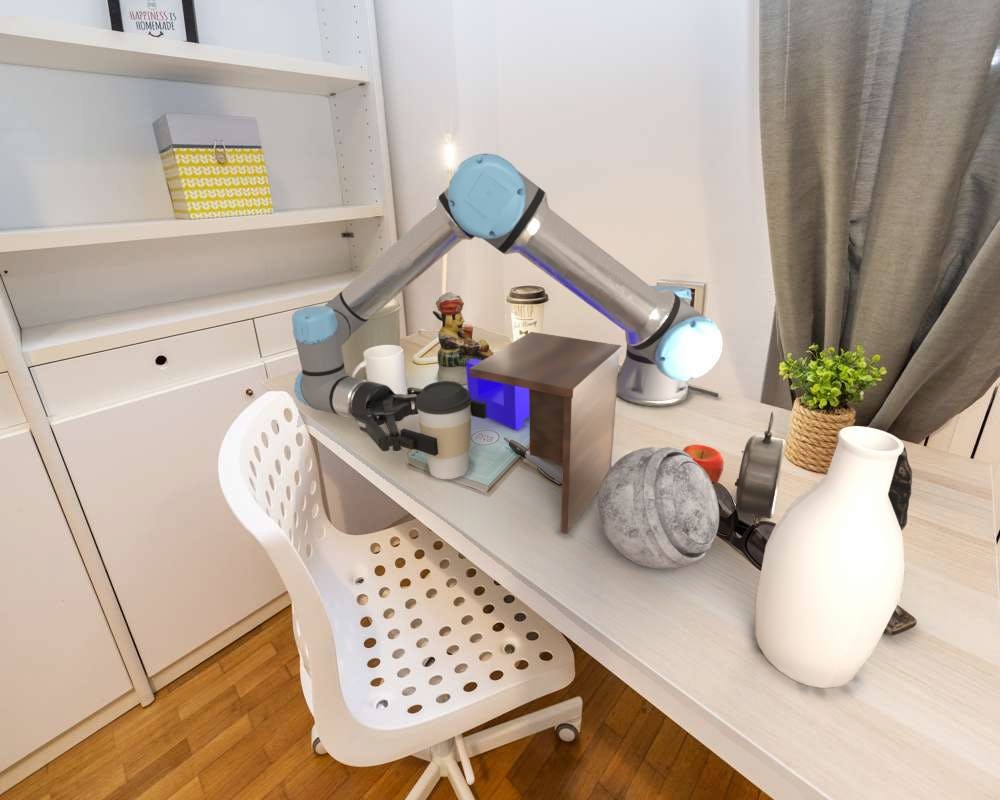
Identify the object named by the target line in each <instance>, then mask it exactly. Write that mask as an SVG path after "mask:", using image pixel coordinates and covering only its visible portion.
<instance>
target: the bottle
mask: <svg viewBox="0 0 1000 800" xmlns="http://www.w3.org/2000/svg"><path fill="white" fill-rule="evenodd" d="M837 439H838V442H837V444H836V448H835V450H834V453H833V455H832V458H831V461H830V464H829V465H828V466H829V467H828V470H827V472H826V475H825V476H824V477H823V478H822V479H820V480H819V481H818V482H816V483H814V485H812V486H811V487H809V488H808V489H806V490H805V491H804V492H803V493H801V494H800V495H799V496H798V497H796V498H795V500H794V501H793V502H791V504H790V505H789V506H788V508H787V509H786V510H785V512H784V513H783V514H782V516H781V517H780V518H779V519H778V520H777V522H776V523H775V525H774V527H773V529H772V532H771V533H770V535H769V538H768V540H767V542H766V543H765V548H764V553H763V558H762V563H761V568H760V569H761V571H760V575H759V582H758V587H757V593H756V598H755V599H756V600H755V601H756V602H755V603H756V604H755V631H754V632H755V633H754V634H755V637H756V638H755V639H756V641H757V645H758V647H759V648H760V650H761V651H762V653H763V655H764V657H765V658H766V659H767V661H768V662H769V663H771V664H772V666H773V667H774V668H775V669H777V670H778V671H779V672H780V673H781V674H783V675H785V676H786V677H788V678H789V679H791V680H792V681H796V682H797V683H800V684H802V685H805V686H808V687H813V688H820V689H830V688H839V687H842V686H845V685H846V684H848V683H850V682H851V681H852V680H853V679H854V677H856V675H857V674H858V673H859V671H860V669H862V667H863V665H864V664H865V663H866V661H867V660H868V659H869V658H870V656H871V655H872V654H873V652H874V651H875V649H876V647H877V645H878V644H879V642H880V640H881V638H882V636H883V634H884V632H885V631H884V630H885V628H886V626H887V624H888V622H889V620H890V618H891V616H892V614H893V612H894V610H895V608H896V606H897V605H899V602H900V600H901V598H902V592H903V587H904V580H905V572H906V566H905V565H906V564H905V551H904V538H903V530H902V531H901V528H900V525H899V523H898V520H897V518H896V515H895V512H894V510H893V507H892V504H891V502H890V499H889V497H888V492H889V489H890V485H891V481H892V478H893V474H894V470H895V467H896V463H897V459H898V456H899V455H900V454H901V453H902V452H903V449H904V447H905V445H904V443H903V441H902V440H901V439H899V438H898V437H897V436H895V435H893V434H892V433H889V432H887V431H884V430H881V429H877V428H874V427H868V426H860V425H852V426H846V427H842V428H840V430H839V432H838V434H837Z"/></svg>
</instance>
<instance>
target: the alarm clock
mask: <svg viewBox="0 0 1000 800" xmlns="http://www.w3.org/2000/svg"><path fill="white" fill-rule="evenodd" d="M774 419H775V411H771V413H770V417H769V422H768V428H767V430H765V431H764V435H760V434H759V435H758V434H756V435H752V436H751V437H750V438H748V439H747V442H746V443H745V447H744V450H741V453H742V457H741V462H740V467H739V473H738V477H737V478H736V481H735V482H734V486H735V487H736V497H735V500H736V501H735V502H736V504H735V505H734V508H735V509H736V508H738V509H739V510H740V511H741V512H742V513H744V514H745V513H746V514H749V515H753V516H754V517H753V518H754V519H753V525H754V524H755V523H757V522H759V523H760V522H761V518H766V519H772V517H773V515H774V511H775V506H776V505H775V504H776V501H777V496H778V491H779V484H780V479H781V474H782V467H783V460H784V454H785V449H786V440H785V439H784V438H775V437H773V432H772V431H771V430H772V427H773V424H774V423H773V422H774Z"/></svg>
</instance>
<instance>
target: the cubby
mask: <svg viewBox="0 0 1000 800" xmlns="http://www.w3.org/2000/svg"><path fill="white" fill-rule="evenodd" d="M622 351H623V346H622V345H621V344H615V343H608V342H600V341H595V340H589V339H581V338H574V337H568V336H561V335H554V334H548V333H541V332H535V331H530V332H528V333H527V334H525V335H523V336H522V337H520V338H518V339H516V340H514V341H513V342H512V343H509V344H508V345H506V346H504V347H503V348H502V349H500V350H498V351H495V352H494V353H493V355H491V356H489V357H488V358H486V359H484V360H483V361H481V362H479V363H478V364H476V365H474V366H473V367H471V368H469V371H470V377H475V378H480V379H485V380H489V381H494V382H499V383H503V384H508V385H513V386H518V387H522V388H527V389H529V417H528V419H529V420H528V421H529V425H528V426H529V456H532V457H535V458H538V459H542V460H546V461H549V462H553V463H557V464H561V465H562V471H561V472H562V475H561V476H562V477H561V478H562V479H561V513H560V515H561V516H560V533H561V534H565V535H569V533H570V532H571V530H572V529H573V528H574V526H575V525H576V524H577V522H578V520H579V519H580V518H581V516H582V514H583V513H584V511H585V510H586V509H587V508H588V507H589V505H590V504H591V502H592V501H593V499H594V498H595V496H597V494H598V493H599V490H600V487H601V484H602V481H603V479H604V477H605V475H606V474H607V472H608V471H609V470H610V468H611V467H612V461H613V460H612V459H613V448H614V447H613V446H614V445H613V444H614V431H615V419H616V417H615V416H616V405H617V404H616V403H617V394H616V392H617V378H618V374H619V362H620V355H621V354H622Z"/></svg>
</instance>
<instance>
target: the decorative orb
mask: <svg viewBox="0 0 1000 800" xmlns="http://www.w3.org/2000/svg"><path fill="white" fill-rule="evenodd" d="M597 496H598V497H597V514H598V519H599V521H600V524H601V525H600V526H601V527H602V529H603V532H604V534H605V536H606V538H607V539H608V541H609V542H610V543H611V544H612V545H613V547H614V548H615V549H616V550H617V552H619V553H620V554H621V555H622V556H624V557H625V558H627V559H629V560H630V561H632V562H633V563H635V564H638V565H641V566H644V567H647V568H650V569H657V570H658V569H659V570H670V569H677V568H680V567H683V566H686V565H687V566H688V565H692V564H695V563H696V562H698V561H699V560H701V559H702V558H704V557H705V556H706V555H707V552H708V551H709V550H710V549H711V546H712V544H713V541H714V539H715V538H716V535H717V533H718V530H719V525H720V508H719V501H718V496H717V493H716V488H715V489H714V486H713V484H712V482H711V480H710V478H709V476H708V474H707V473H706V472H705V470H704V469H703V468H702V467H701V466H700V465H699V464H697V462H695V461H693V458H692V457H691V456H690V455H689V454H687V453H686V452H684V451H683V450H682V449H679V448H675V447H671V446H666V447H665V446H664V447H662V446H661V447H660V446H650V447H644V448H639V449H636V450H634V451H631V452H629V453H627V454H626V455H624V456H622V457H621V458H619V459H618V460H617V461H616V462H615V463H614V464H612V465H611V468H610V470H609V471H608V472H607V474H606V475H605V477H604V479H603V481H602V484H601V487H600V490H599V491H598V495H597Z"/></svg>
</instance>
